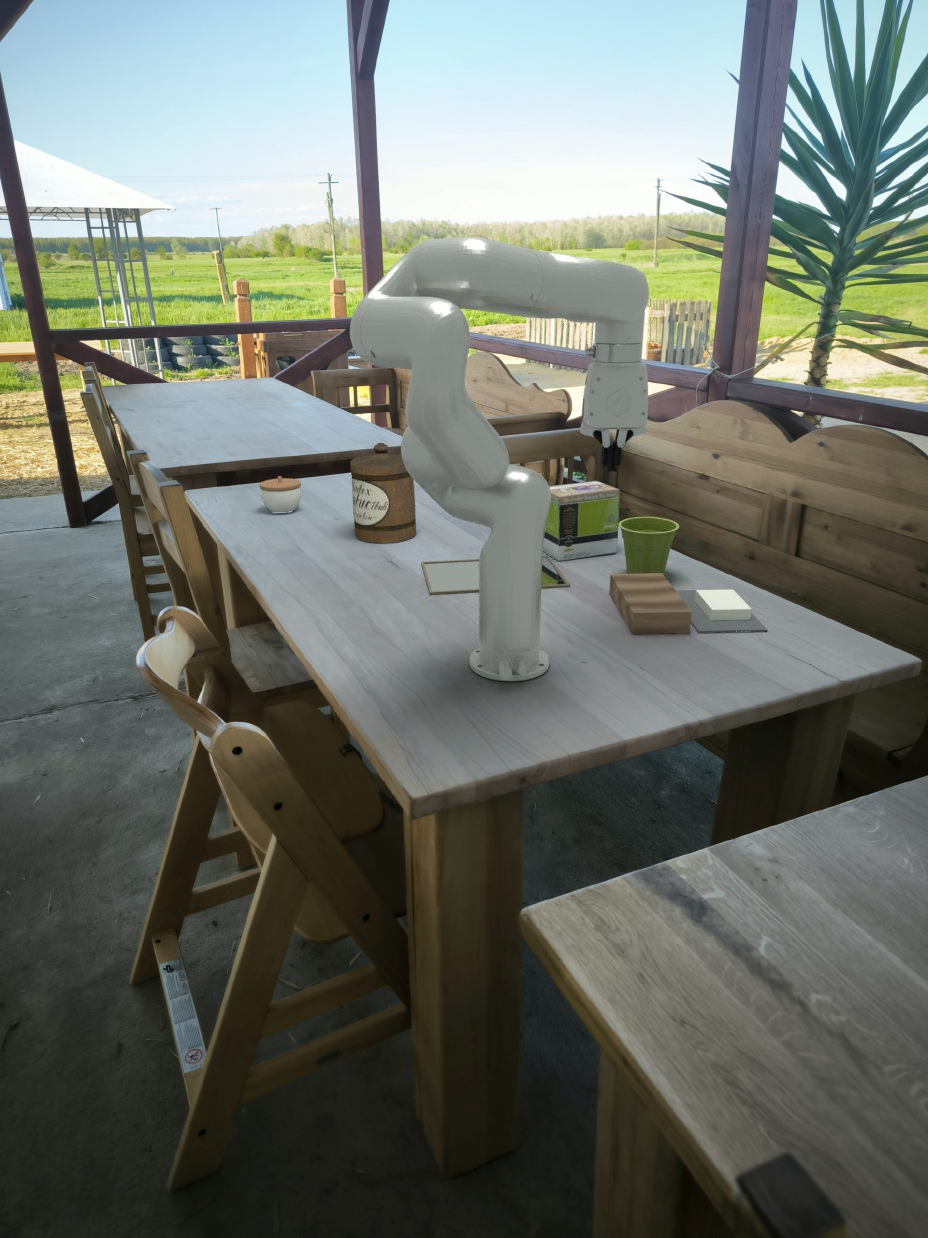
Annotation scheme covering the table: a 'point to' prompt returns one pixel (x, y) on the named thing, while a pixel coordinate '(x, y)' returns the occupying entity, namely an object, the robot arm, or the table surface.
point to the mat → (707, 625)
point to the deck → (649, 604)
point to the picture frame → (477, 576)
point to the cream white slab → (723, 605)
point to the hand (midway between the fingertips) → (610, 469)
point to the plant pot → (647, 543)
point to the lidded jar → (281, 494)
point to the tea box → (582, 521)
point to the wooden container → (382, 498)
